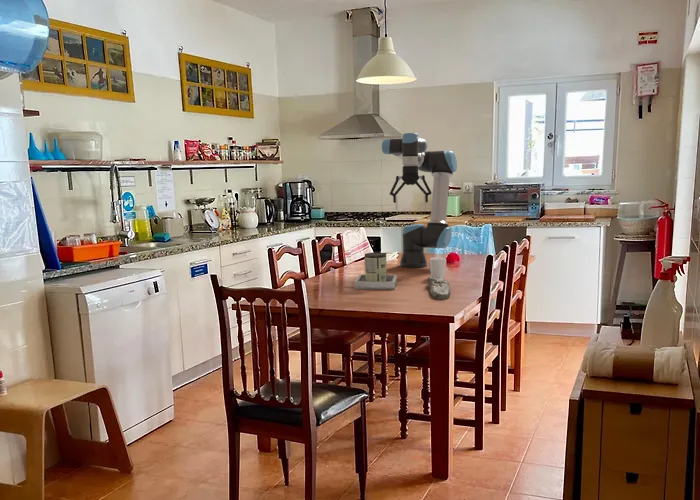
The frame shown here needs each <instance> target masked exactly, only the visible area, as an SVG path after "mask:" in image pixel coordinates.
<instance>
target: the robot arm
mask: <svg viewBox="0 0 700 500" xmlns="http://www.w3.org/2000/svg"><path fill="white" fill-rule="evenodd" d="M427 149H428V142H427V141H426V139H425V138H422V137H419V135H418V133H417V132H405V133H402V137H401V138H386V139H383V140H382V142H381V151H382V153H383V154H385V155H393V156H396V157H397V158H398V159H400V160H402V161H401V162H402V165H403V166H402V176H400V175H397V176H395V181H394V183H393V185H392V187H391V190H390V192H389V196H392V197H393V198H392V201H393V203H394V204H395V211H397V210H399V209H398V205H399V204H398V194H399V193H400V191H401V190H402V189H403V187H404V186H405V185H406V186H414V185H416V186H417V187H418V188H419V189H420V191H421V192H422V193H423V194H424V195H423V210H426V203H428V202H429V200H428V198H429V195H432V197H431V209H430V210H431V211H430V220H428V221H427V224H426V226H425V225H424V223H416V224H410V225H405V226H404V227H403V228H402V255H401V257H400V260H399V261H400V262H399V266H400V267H402V268H407V269H408V268H410V269H411V268H415V269H416V268H417V269H418V268H426V267H427V266H428V260H427V257H426V255H425V248H428V249H446V248H447V247H449V246H450V243H451V240H452V236H453V235H452V234H453V233H452V229H451V227H450V224H449V223H448V222H447V214H448V202H449V188H450V179H451V178H452V177H453V175H454V174H453V173H455V172H457V169H458V161H457V157H456V154H455V152H453V151H452V150H434V151H432V150H428V151H426V150H427ZM420 171H421V172H424V173H431V176H432V177H433V183H432V190H431V189H430V187H429V185H428V183H427V181H426V178H425V177H426V176H425V175H424V174H423V175H419V172H420ZM419 179H420V180H421V181H422V183H423V184H424V186H425V189H426V190H427V191H426V190H425V189H424V187H422V185H421V184H420V183H419ZM401 180H402V181H403V182H402V183H401V184H400V186H399V187H398V188H397V189H396V187H397V185H398V183H399V181H401ZM395 190H396V191H395ZM394 191H395V192H394Z"/></svg>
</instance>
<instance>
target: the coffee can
mask: <svg viewBox="0 0 700 500" xmlns="http://www.w3.org/2000/svg"><path fill="white" fill-rule="evenodd" d="M364 267H365V269H364V270H365V274H364V275H365V276H366V281H378V282H387V275H388V274H387V253H386V252H378V251H377V252H376V251H375V252H366V253H365V254H364Z"/></svg>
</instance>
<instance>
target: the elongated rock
mask: <svg viewBox="0 0 700 500" xmlns="http://www.w3.org/2000/svg"><path fill="white" fill-rule="evenodd" d="M426 280H427V283H428V288H429V292H430V294H431V296H432V298H434V299H436V300H444V299H445V300H448V299H449V297H450V296H451V293H452V291H451V290H450V288H451V287H450V283H449V282H448V281H447V280H446V279H445V278H444V279H442V278H435V277H431V276H429V277H427V279H426Z"/></svg>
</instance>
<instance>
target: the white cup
mask: <svg viewBox="0 0 700 500" xmlns="http://www.w3.org/2000/svg"><path fill="white" fill-rule="evenodd" d="M446 262H447V261H446V258H445V257H436V256H434V257H430V258H429V270H430V271H429V272H430V277H435V278H442V279H444V280H445V277H446V276H445V275H446Z"/></svg>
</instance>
